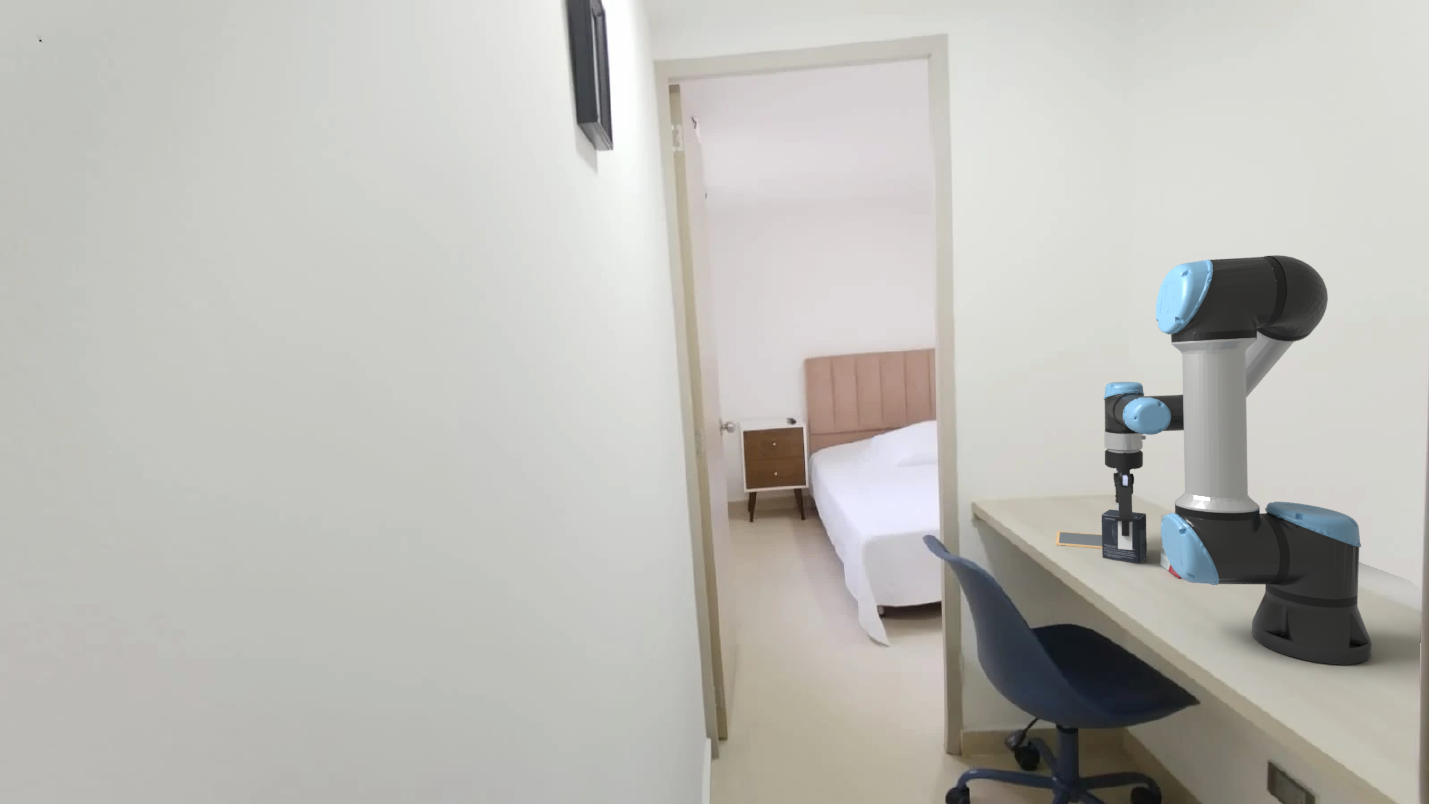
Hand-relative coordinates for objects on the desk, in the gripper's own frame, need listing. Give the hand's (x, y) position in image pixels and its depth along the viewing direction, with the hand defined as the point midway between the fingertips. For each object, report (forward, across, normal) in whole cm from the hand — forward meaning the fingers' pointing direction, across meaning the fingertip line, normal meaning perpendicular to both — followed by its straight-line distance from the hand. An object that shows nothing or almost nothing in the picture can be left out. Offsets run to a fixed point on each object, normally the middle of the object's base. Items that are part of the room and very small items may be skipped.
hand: (1123, 539), depth 161 cm
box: (+4, 0, 0) cm, 4 cm away
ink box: (+4, -6, -12) cm, 14 cm away
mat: (+4, +11, +9) cm, 15 cm away
